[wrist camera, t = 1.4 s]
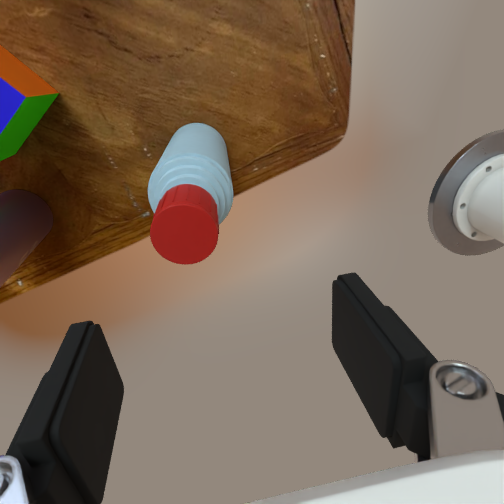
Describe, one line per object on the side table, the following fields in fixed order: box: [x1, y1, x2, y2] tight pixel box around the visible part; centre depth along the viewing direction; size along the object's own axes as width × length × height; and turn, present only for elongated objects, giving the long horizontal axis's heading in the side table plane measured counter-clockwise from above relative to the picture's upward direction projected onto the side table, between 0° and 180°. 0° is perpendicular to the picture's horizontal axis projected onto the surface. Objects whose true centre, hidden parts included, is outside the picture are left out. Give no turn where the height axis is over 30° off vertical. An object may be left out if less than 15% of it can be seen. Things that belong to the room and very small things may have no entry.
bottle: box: [148, 123, 233, 224], centre depth 29 cm, size 6×6×20 cm
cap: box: [150, 184, 219, 264], centre depth 22 cm, size 4×4×4 cm
